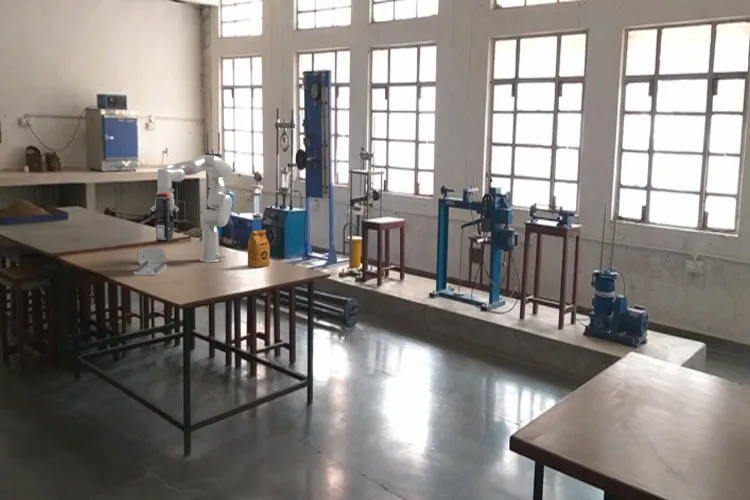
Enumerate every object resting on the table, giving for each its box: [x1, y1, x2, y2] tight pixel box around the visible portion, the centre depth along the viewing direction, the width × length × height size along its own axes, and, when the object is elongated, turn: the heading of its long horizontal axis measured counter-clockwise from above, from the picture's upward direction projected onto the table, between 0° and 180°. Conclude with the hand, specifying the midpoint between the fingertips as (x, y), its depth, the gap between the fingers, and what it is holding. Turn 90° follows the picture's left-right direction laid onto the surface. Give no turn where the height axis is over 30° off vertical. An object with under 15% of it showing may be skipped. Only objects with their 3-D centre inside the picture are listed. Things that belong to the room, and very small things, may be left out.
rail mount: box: [133, 261, 168, 276], centre depth 386 cm, size 13×22×4 cm, turn 4°
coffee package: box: [247, 229, 271, 268], centre depth 408 cm, size 10×12×22 cm
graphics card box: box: [155, 191, 174, 243], centre depth 384 cm, size 17×7×27 cm, turn 6°
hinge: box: [136, 247, 168, 266], centre depth 408 cm, size 17×5×10 cm, turn 126°
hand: (164, 222), depth 384 cm, fingers closed on graphics card box, 6 cm apart
